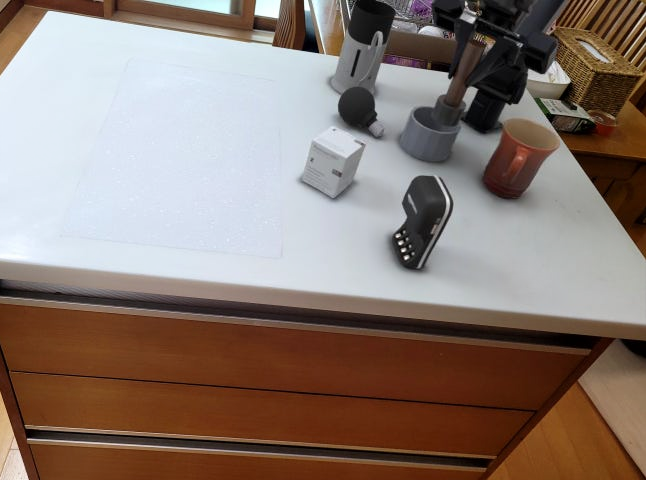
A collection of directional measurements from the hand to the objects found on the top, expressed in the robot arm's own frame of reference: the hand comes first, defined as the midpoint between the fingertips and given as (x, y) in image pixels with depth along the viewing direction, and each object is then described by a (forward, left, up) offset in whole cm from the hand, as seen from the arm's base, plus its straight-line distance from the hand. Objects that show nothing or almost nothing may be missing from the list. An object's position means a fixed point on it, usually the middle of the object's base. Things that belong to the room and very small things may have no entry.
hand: (457, 82), depth 80 cm
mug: (-8, +11, -15) cm, 20 cm away
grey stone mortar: (-5, -4, -15) cm, 17 cm away
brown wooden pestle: (-1, 0, -7) cm, 7 cm away
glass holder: (-5, -23, -15) cm, 28 cm away
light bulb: (+2, -14, -15) cm, 21 cm away
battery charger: (+18, +14, -15) cm, 27 cm away
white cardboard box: (+18, -3, -15) cm, 24 cm away
